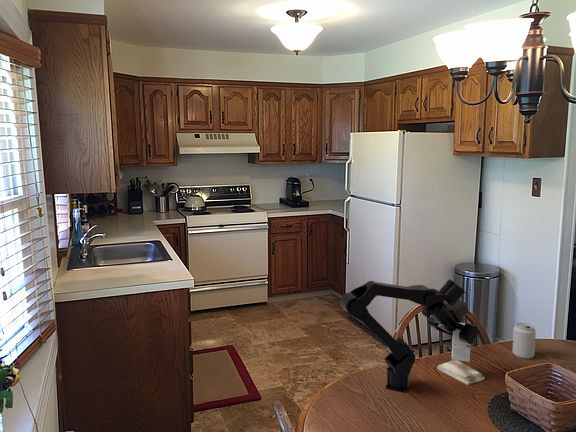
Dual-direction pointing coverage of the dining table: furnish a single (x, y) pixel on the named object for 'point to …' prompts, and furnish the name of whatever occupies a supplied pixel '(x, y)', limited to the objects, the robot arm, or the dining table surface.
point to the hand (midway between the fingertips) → (464, 339)
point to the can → (524, 340)
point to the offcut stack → (461, 372)
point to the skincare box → (460, 348)
